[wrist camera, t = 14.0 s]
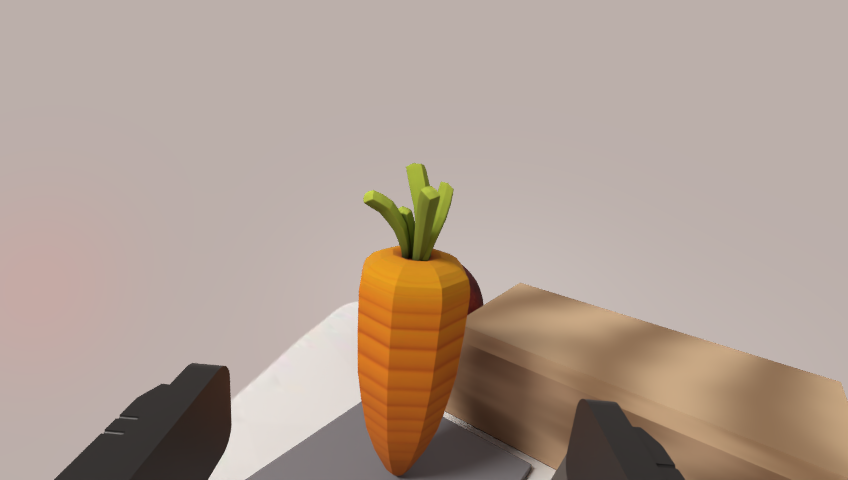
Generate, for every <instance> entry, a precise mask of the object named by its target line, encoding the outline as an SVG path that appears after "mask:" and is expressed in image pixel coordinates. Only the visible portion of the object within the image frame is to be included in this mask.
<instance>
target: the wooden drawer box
mask: <svg viewBox="0 0 848 480" xmlns="http://www.w3.org/2000/svg"><path fill="white" fill-rule="evenodd" d="M581 399H591V400H602V401H613V402H616V403H618V405H619V406H620V407H621V409H622V411H623V412H624V414H625V415H626V417H627V419H628V420H629V422H630V423H631V425H632V427H641V428H642V429H644V430H645V431H646V432H647V433H648V434H649V435H651V436H652V437H653V438H654V439H655V440H656V441H658V442H659V443H660V444H661V445H662V446H663V448H664V449H665V450H666V452H667V453H668V455H669V456H670V458H671V459H672V461H673V462H674V464H675V468H676V469H678V470H679V471H680V473H681V474H682V475H683V477H684V478H685V480H848V401H847V398H846V396H845V393H844V390H843V387H842V384H841V382H839V381H835V380H832V379H829V378H826V377H822V376H819V375H816V374H813V373H810V372H806V371H803V370H800V369H797V368H793V367H790V366H786V365H784V364H781V363H777V362H774V361H771V360H768V359H764V358H761V357H758V356H755V355H752V354H748V353H745V352H742V351H739V350H735V349H732V348H729V347H726V346H723V345H719V344H716V343H713V342H710V341H706V340H703V339H700V338H697V337H693V336H690V335H687V334H684V333H680V332H677V331H674V330H671V329H668V328H664V327H661V326H658V325H654V324H652V323H648V322H645V321H642V320H639V319H636V318H632V317H629V316H626V315H623V314H619V313H616V312H613V311H610V310H607V309H603V308H600V307H597V306H594V305H590V304H587V303H584V302H581V301H578V300H574V299H571V298H568V297H565V296H561V295H558V294H555V293H552V292H549V291H545V290H542V289H539V288H536V287H532V286H529V285H526V284H523V283H519V284H517V285H516V286H514V287H513V288H511V289H509V290H508V291H506V292H504V293H503V294H502V295H500V296H498V297H496V298H495V299H493V300H491V301H490V302H488V303H487V304H485V305H483V306H482V307H480V308H479V309H477V310H475V311H474V312H472V313H470V314H469V315H467V320H466V326H465V332H464V339H463V344H462V349H461V354H460V360H459V365H458V370H457V375H456V379H455V382H454V385H453V388H452V391H451V394H450V397H449V400H448V403H447V406H446V409H445V411H446V412H448V413H450V414H451V415H453V416H455V417H457V418H459V419H461V420H463V421H465V422H467V423H468V424H470V425H472V426H474V427H476V428H478V429H480V430H482V431H484V432H486V433H487V434H489V435H491V436H493V437H495V438H497V439H499V440H501V441H503V442H504V443H506V444H508V445H510V446H512V447H514V448H516V449H518V450H520V451H521V452H523V453H525V454H527V455H529V456H531V457H533V458H535V459H537V460H539V461H540V462H542V463H544V464H546V465H548V466H550V467H552V468H554V469H556V470H557V471H556V472H555V474H554V476H553V477H552V479H551V480H567V475H566V454H567V449H568V445H569V440H570V435H571V431H572V426H573V422H574V417H575V413H576V408H577V405H578V402H579V401H580V400H581Z"/></svg>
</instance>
